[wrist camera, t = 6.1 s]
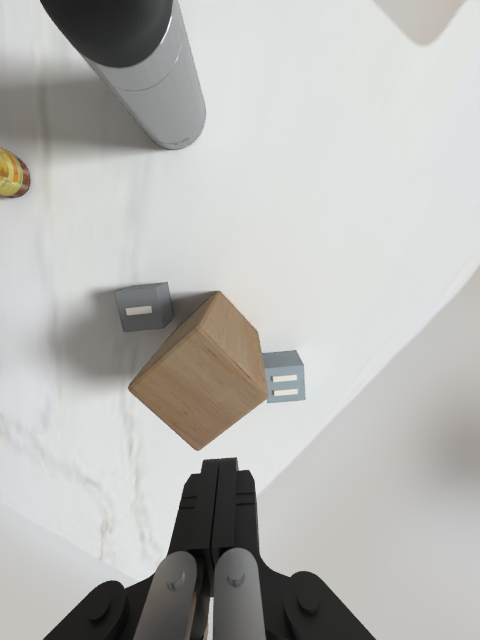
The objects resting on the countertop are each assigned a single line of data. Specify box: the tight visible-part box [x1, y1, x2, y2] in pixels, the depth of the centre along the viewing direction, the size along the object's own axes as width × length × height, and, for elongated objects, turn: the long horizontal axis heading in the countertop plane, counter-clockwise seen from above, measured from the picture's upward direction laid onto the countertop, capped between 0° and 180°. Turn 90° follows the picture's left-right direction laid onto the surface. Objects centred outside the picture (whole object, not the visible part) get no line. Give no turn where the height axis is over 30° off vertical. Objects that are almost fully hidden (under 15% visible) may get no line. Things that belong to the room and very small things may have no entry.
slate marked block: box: [262, 350, 305, 403], centre depth 43 cm, size 6×6×6 cm
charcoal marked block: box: [114, 282, 174, 332], centre depth 40 cm, size 6×6×6 cm
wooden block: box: [128, 291, 269, 451], centre depth 34 cm, size 10×10×20 cm
